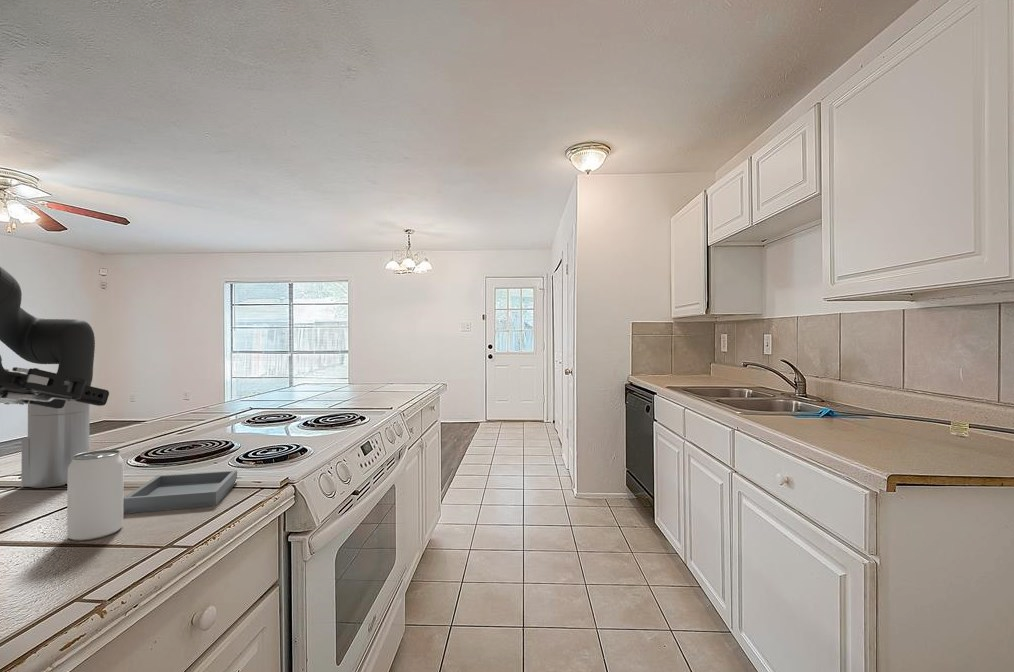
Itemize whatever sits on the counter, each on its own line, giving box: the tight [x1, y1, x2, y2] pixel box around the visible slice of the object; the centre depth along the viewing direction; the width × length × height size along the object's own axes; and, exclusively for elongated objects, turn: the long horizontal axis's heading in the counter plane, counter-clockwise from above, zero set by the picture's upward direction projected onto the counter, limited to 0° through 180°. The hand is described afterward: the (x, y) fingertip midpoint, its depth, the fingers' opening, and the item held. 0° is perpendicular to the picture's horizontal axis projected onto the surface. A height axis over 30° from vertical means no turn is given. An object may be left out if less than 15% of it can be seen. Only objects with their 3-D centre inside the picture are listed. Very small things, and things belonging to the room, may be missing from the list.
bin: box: [123, 469, 238, 515], centre depth 89 cm, size 14×14×2 cm
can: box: [66, 449, 125, 542], centre depth 73 cm, size 6×6×12 cm
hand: (84, 400), depth 68 cm, fingers open, 8 cm apart
